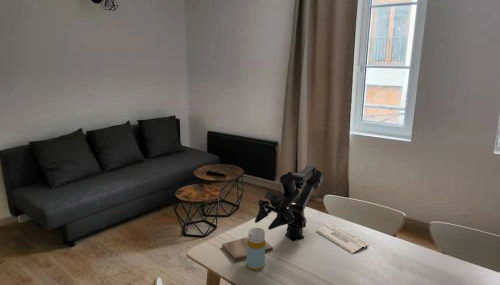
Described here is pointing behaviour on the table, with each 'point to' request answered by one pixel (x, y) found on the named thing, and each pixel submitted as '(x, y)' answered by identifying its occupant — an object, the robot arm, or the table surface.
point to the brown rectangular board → (241, 248)
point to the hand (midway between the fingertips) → (261, 225)
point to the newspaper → (341, 238)
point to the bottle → (256, 249)
